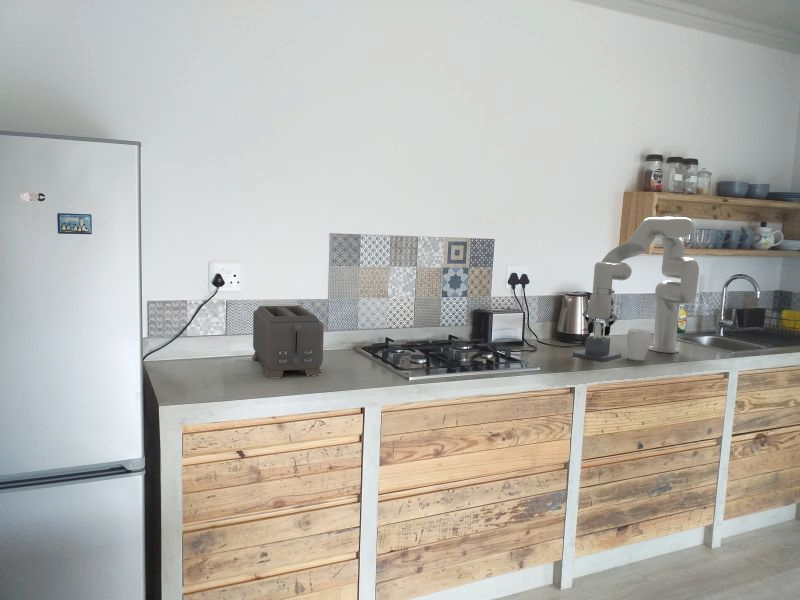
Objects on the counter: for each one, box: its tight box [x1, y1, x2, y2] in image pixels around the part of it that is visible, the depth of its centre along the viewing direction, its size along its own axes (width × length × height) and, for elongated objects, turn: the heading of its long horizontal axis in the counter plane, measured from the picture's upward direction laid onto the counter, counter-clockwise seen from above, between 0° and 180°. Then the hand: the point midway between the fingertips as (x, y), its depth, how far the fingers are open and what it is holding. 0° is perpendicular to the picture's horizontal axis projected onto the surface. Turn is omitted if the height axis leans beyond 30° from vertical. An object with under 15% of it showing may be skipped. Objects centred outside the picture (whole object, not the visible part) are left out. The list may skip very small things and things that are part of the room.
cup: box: [626, 328, 651, 361], centre depth 273 cm, size 9×9×12 cm
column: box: [593, 321, 606, 339], centre depth 274 cm, size 4×4×13 cm
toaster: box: [251, 305, 325, 379], centre depth 231 cm, size 19×35×20 cm, turn 21°
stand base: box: [572, 335, 622, 363], centre depth 275 cm, size 16×14×9 cm
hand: (598, 333), depth 274 cm, fingers open, 6 cm apart
